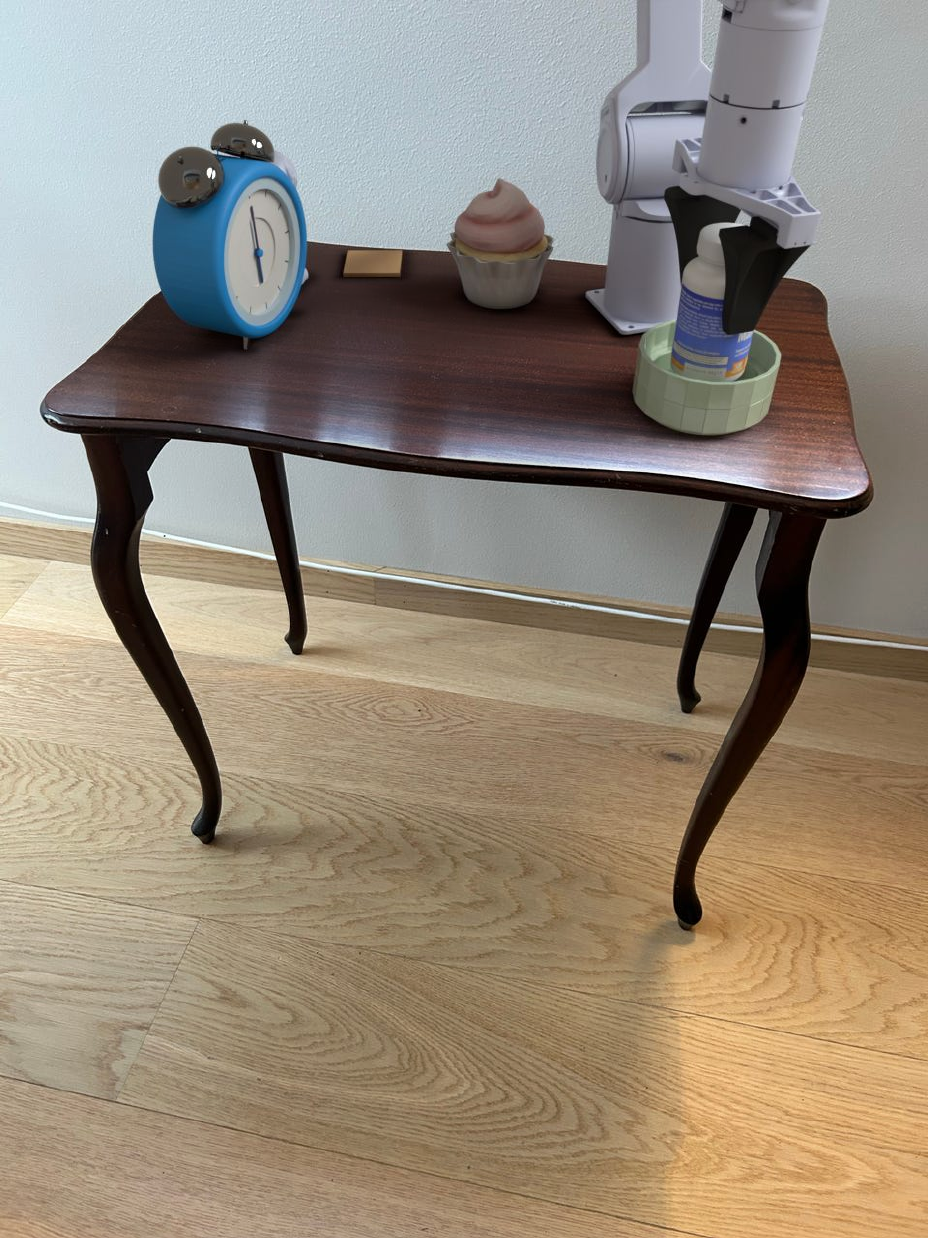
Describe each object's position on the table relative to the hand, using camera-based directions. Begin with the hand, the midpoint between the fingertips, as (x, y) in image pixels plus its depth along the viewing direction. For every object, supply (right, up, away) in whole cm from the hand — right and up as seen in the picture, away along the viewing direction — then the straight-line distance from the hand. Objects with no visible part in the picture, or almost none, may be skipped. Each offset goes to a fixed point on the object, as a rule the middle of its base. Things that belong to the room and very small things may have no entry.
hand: (716, 311), depth 66 cm
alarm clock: (-36, +3, +14) cm, 39 cm away
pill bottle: (0, -3, +3) cm, 5 cm away
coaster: (-26, +12, +23) cm, 37 cm away
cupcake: (-14, +7, +19) cm, 25 cm away
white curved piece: (-35, +9, +20) cm, 41 cm away
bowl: (0, -5, +5) cm, 7 cm away
